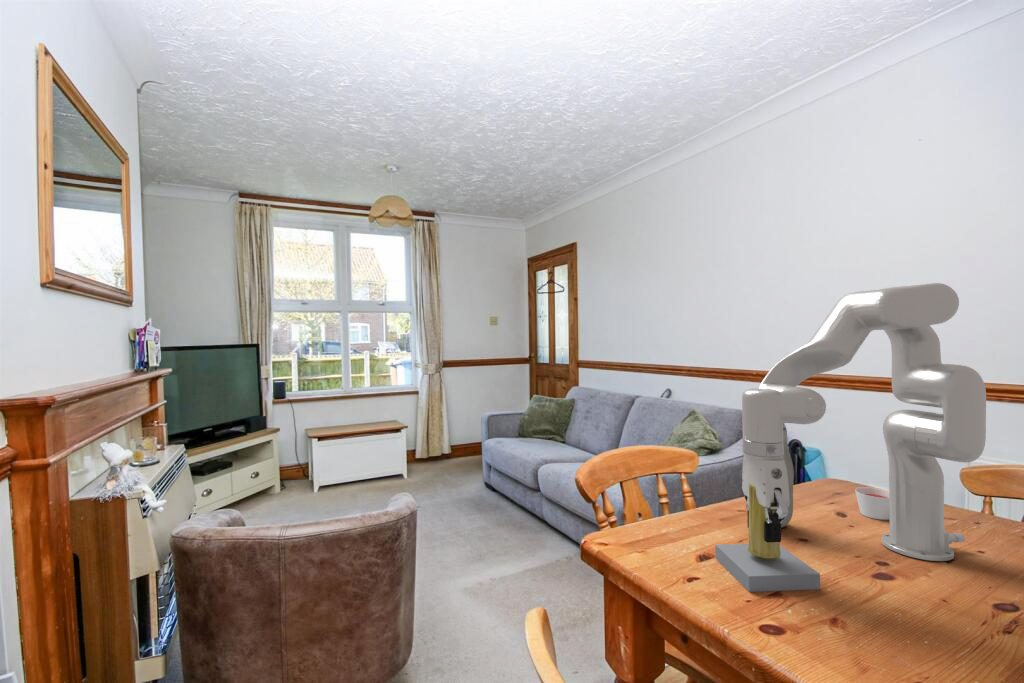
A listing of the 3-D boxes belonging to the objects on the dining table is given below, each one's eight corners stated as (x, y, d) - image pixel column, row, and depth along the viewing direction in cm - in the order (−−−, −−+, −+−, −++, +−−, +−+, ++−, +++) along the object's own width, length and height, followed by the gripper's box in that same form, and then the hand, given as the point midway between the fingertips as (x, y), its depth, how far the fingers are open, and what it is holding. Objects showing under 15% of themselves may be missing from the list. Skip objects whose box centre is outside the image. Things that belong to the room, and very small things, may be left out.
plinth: (777, 556, 106) (776, 542, 106) (820, 589, 92) (819, 573, 92) (715, 558, 105) (715, 544, 105) (749, 591, 91) (748, 576, 91)
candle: (906, 521, 123) (906, 497, 123) (871, 522, 124) (871, 498, 124) (880, 509, 132) (879, 486, 132) (847, 509, 133) (847, 487, 133)
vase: (785, 560, 95) (784, 489, 95) (752, 558, 96) (751, 488, 96) (774, 547, 101) (774, 480, 101) (744, 545, 102) (743, 479, 102)
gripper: (807, 458, 90) (808, 553, 90) (757, 439, 107) (758, 518, 107) (768, 459, 90) (770, 554, 90) (725, 439, 107) (726, 519, 107)
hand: (763, 534), depth 98 cm, fingers closed on vase, 5 cm apart
